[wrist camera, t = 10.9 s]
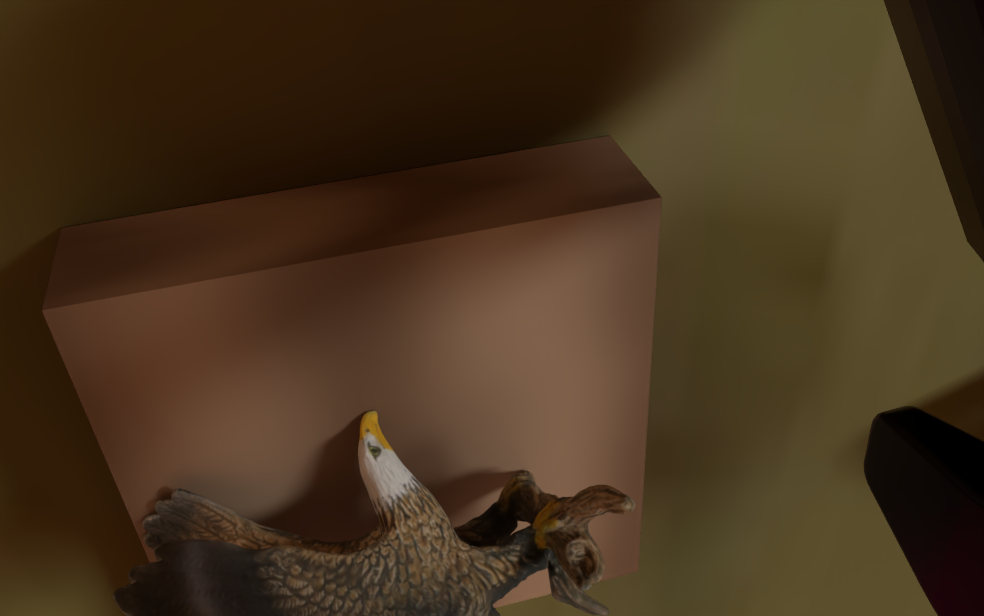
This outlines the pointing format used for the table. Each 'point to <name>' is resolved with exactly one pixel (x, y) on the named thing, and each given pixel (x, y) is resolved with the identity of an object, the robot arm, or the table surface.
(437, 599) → the eagle figurine
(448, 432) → the plinth
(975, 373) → the table surface
